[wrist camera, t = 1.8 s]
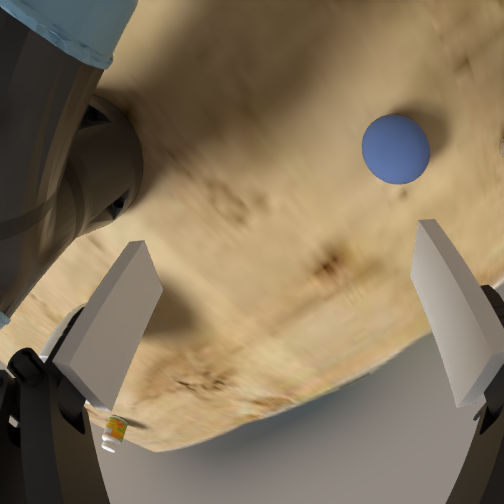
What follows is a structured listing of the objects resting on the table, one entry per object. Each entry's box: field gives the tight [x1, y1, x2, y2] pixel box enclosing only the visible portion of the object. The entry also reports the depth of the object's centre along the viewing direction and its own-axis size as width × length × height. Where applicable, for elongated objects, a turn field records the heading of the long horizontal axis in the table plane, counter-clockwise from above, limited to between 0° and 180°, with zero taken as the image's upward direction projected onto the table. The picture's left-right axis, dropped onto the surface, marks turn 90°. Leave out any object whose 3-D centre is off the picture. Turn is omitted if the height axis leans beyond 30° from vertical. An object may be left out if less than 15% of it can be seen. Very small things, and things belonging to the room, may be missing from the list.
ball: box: [362, 115, 430, 184], centre depth 23 cm, size 6×6×6 cm
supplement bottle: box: [102, 415, 128, 452], centre depth 66 cm, size 5×5×10 cm
